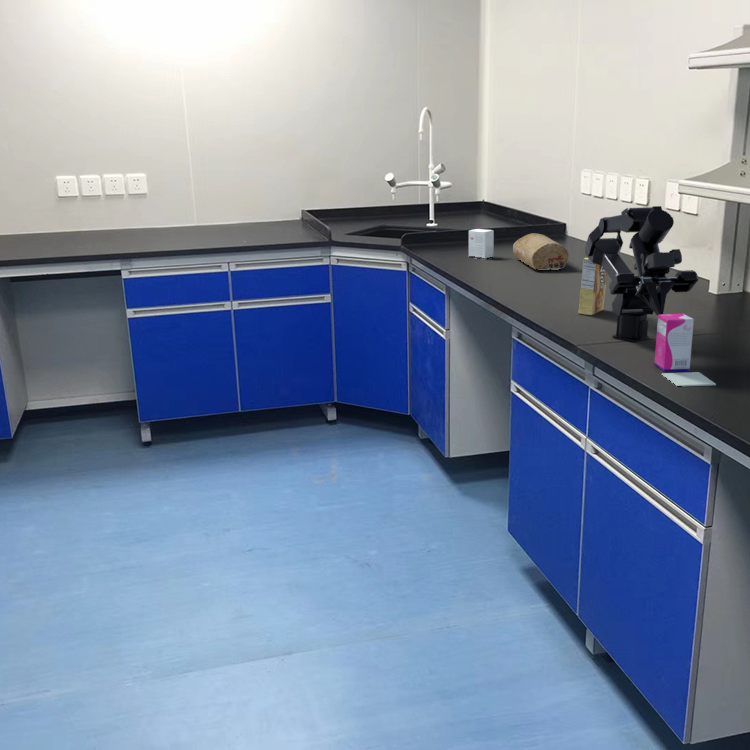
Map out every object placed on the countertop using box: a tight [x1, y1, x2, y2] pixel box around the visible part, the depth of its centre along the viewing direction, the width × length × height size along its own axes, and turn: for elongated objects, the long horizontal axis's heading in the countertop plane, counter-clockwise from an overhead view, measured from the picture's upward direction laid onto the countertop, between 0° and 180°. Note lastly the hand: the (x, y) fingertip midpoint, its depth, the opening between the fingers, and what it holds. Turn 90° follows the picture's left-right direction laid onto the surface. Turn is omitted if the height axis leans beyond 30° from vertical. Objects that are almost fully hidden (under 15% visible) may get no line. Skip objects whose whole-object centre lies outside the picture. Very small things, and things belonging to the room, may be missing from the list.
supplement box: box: [654, 313, 695, 373], centre depth 177 cm, size 6×6×12 cm
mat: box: [661, 371, 717, 387], centre depth 170 cm, size 8×8×1 cm
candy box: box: [578, 256, 608, 316], centre depth 227 cm, size 9×4×15 cm, turn 144°
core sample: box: [512, 232, 570, 270], centre depth 298 cm, size 14×26×10 cm, turn 6°
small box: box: [468, 228, 495, 258], centre depth 315 cm, size 8×6×10 cm
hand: (660, 315), depth 184 cm, fingers closed
